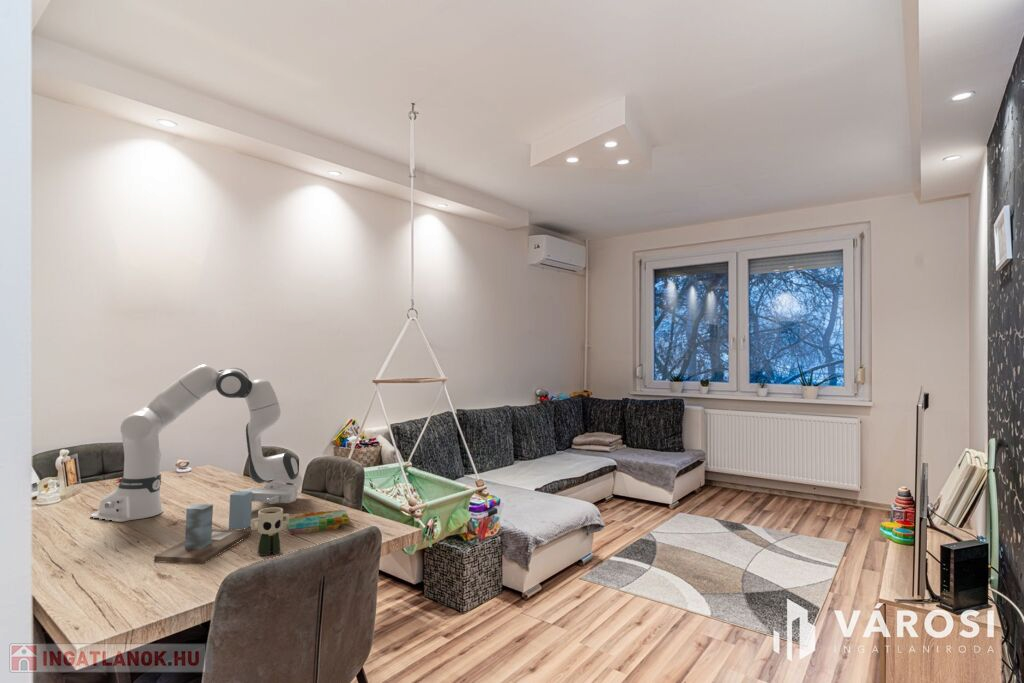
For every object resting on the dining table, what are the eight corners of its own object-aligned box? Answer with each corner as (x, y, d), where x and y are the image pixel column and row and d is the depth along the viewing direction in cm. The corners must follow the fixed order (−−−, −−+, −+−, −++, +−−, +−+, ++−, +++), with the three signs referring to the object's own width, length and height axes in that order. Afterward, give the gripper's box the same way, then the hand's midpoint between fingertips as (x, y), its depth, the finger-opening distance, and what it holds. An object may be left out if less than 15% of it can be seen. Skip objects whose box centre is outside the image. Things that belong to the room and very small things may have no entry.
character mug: (252, 560, 151) (254, 516, 152) (246, 553, 157) (248, 510, 157) (290, 552, 158) (292, 510, 158) (284, 545, 164) (286, 504, 164)
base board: (154, 561, 149) (156, 514, 149) (207, 533, 173) (209, 493, 173) (203, 563, 148) (205, 516, 149) (250, 535, 172) (252, 494, 173)
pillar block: (228, 529, 177) (230, 494, 178) (237, 524, 182) (238, 490, 183) (242, 530, 177) (244, 495, 177) (250, 525, 182) (252, 491, 182)
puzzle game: (287, 512, 183) (345, 507, 192) (286, 526, 183) (344, 520, 192) (287, 522, 173) (349, 516, 181) (287, 536, 173) (349, 529, 181)
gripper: (250, 482, 204) (229, 491, 191) (300, 484, 203) (283, 493, 190) (250, 498, 204) (229, 508, 190) (300, 500, 203) (282, 510, 189)
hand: (256, 500), depth 190 cm, fingers open, 8 cm apart
